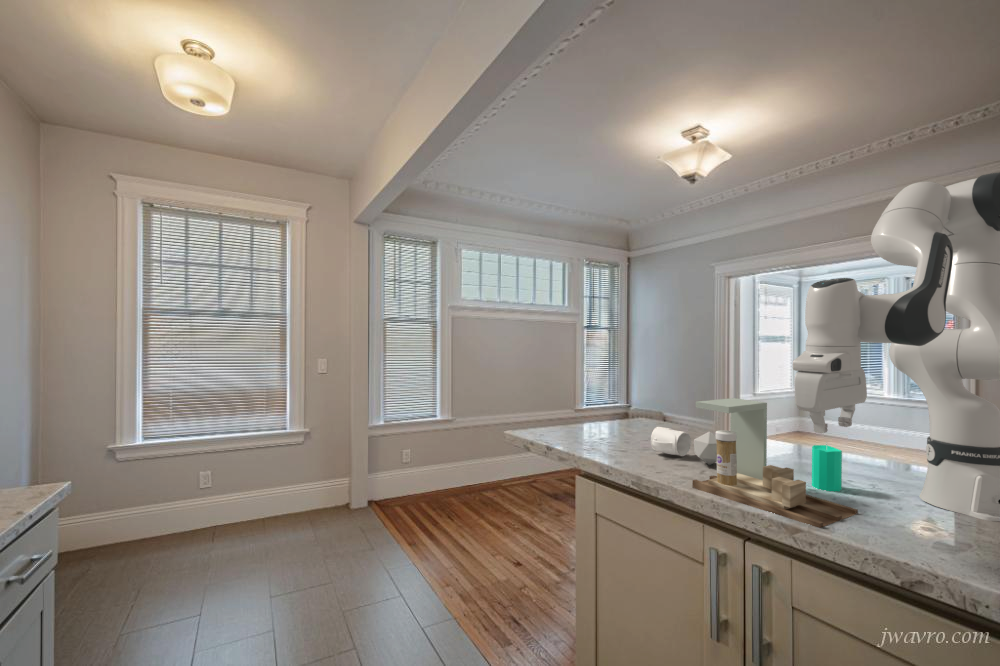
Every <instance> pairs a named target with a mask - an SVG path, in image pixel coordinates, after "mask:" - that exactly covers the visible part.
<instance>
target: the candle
mask: <svg viewBox="0 0 1000 666" xmlns="http://www.w3.org/2000/svg"><path fill="white" fill-rule="evenodd" d="M825 444H826V445H824V444H823V445H822V444H820V445H817V444H814V445H812V446H811V487H812V486H813V488H814V487H815V488H814V489H816V488H817V490H819V489H821V490H820V491H824V490H826V491H825V492H831V491H834V492H835V491H837V492H841V491H842V487H843V486H842V485H843V484H842V480H843V479H842V478H843V477H842V474H843V471H842V470H843V469H842V468H843V463H842V462H843V450H841V449H839V448H836V447H833V446H830V445H828V442H827V441H826V443H825ZM840 490H841V491H840Z"/></svg>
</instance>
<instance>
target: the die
mask: <svg viewBox="0 0 1000 666" xmlns="http://www.w3.org/2000/svg"><path fill="white" fill-rule="evenodd" d="M693 450H694V451H693V453H694V454H695V455H696V456H697V457H698V458H699V459H700V460H702V461H703V462H704V463H706V464H707V465H709V466H711V465H712V464H714V463H717V441H716V434H714V433H713V432H712V431H708V432H706V433H704V434H702V435H699V436H698V437H696V438H694V439H693Z"/></svg>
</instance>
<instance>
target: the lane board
mask: <svg viewBox="0 0 1000 666" xmlns="http://www.w3.org/2000/svg"><path fill="white" fill-rule="evenodd" d="M715 478H717V475H710V476H709V479H706V480H698V479H692V485H691V486H692V488H693V489H696V490H697V491H698V490H699V491H702V492H705V493H708V494H710V495H714V496H717V497H720V498H723V499H727V500H730V501H733V502H735V503H739V504H742V505H745V506H747V507H752V508H755V509H758V510H762V511H765V512H767V511H768V513H770V512H772V513H771V514H774V513H775V514H774V515H777V516H781V517H783V518H787V519H790V520H792V521H796V522H798V523H799V522H800V523H803V524H805V523H806V525H808V524H810V525H809V526H811V525H812V526H811V527H815V528H819V529H822V528H824V527H827V526H829V525H831V524H835V523H837V522H840V521H842V520H845V519H848V518H851V517H853V516H855V515H858V514H859V509H858V508H854V507H850V506H847V505H844V504H840V503H836V502H833V501H830V500H828V499H827V500H826V499H824V498H821V497H817V496H814V495H810V494H807V493H806V503H804V504H800V505H797V506H796V507H793V508H789V509H786V510H785V509H782V508H779V507H776V506H773V505H770V504H767V503H764V502H761V501H758V500H755V499H752V498H749V497H746V496H743V495H740V494H737V493H734V492H731V491H728V490H725V489H722V488H719V487H717V486H714V485H711V484H708V480H710V479H715Z"/></svg>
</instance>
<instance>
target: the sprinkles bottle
mask: <svg viewBox="0 0 1000 666" xmlns="http://www.w3.org/2000/svg"><path fill="white" fill-rule="evenodd" d="M715 436H716V441H717V462H716V476H717V482H718V483H720V484H724V485H730V486H733V485H737V455H736V440H737V436H736V433H735V432H733V431H730V430H716V431H715Z"/></svg>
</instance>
